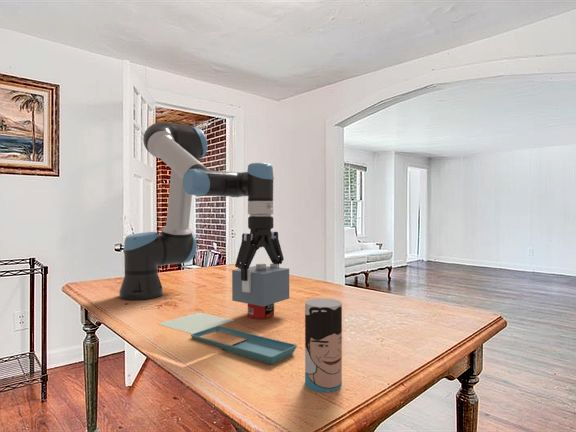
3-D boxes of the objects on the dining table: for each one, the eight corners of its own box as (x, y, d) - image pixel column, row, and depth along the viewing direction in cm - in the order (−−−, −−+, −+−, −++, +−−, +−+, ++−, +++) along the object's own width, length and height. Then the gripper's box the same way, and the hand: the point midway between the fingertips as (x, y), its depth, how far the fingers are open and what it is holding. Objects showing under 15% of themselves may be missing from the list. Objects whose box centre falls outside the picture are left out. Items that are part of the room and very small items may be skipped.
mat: (157, 325, 108) (157, 323, 108) (199, 314, 120) (199, 312, 120) (193, 336, 99) (193, 333, 99) (234, 322, 111) (234, 320, 111)
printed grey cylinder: (307, 392, 68) (307, 307, 68) (303, 376, 75) (303, 298, 75) (345, 391, 69) (345, 306, 68) (338, 375, 75) (338, 298, 75)
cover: (232, 300, 115) (232, 265, 114) (258, 293, 124) (258, 260, 124) (263, 306, 108) (263, 268, 107) (289, 298, 117) (289, 263, 117)
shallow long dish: (189, 342, 95) (189, 332, 95) (217, 333, 103) (217, 324, 102) (271, 369, 79) (271, 357, 79) (298, 355, 87) (298, 344, 87)
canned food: (270, 321, 112) (270, 283, 111) (244, 320, 113) (244, 282, 113) (276, 314, 119) (276, 278, 119) (251, 313, 121) (251, 277, 120)
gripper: (241, 216, 104) (242, 297, 104) (294, 215, 123) (294, 283, 123) (221, 216, 108) (222, 293, 108) (276, 215, 128) (276, 280, 128)
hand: (261, 288), depth 116 cm, fingers closed on cover, 12 cm apart
